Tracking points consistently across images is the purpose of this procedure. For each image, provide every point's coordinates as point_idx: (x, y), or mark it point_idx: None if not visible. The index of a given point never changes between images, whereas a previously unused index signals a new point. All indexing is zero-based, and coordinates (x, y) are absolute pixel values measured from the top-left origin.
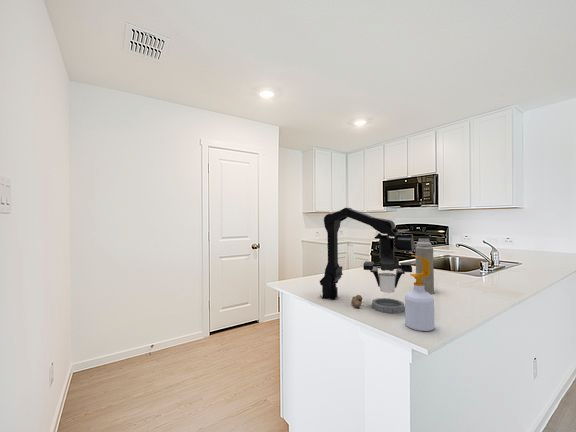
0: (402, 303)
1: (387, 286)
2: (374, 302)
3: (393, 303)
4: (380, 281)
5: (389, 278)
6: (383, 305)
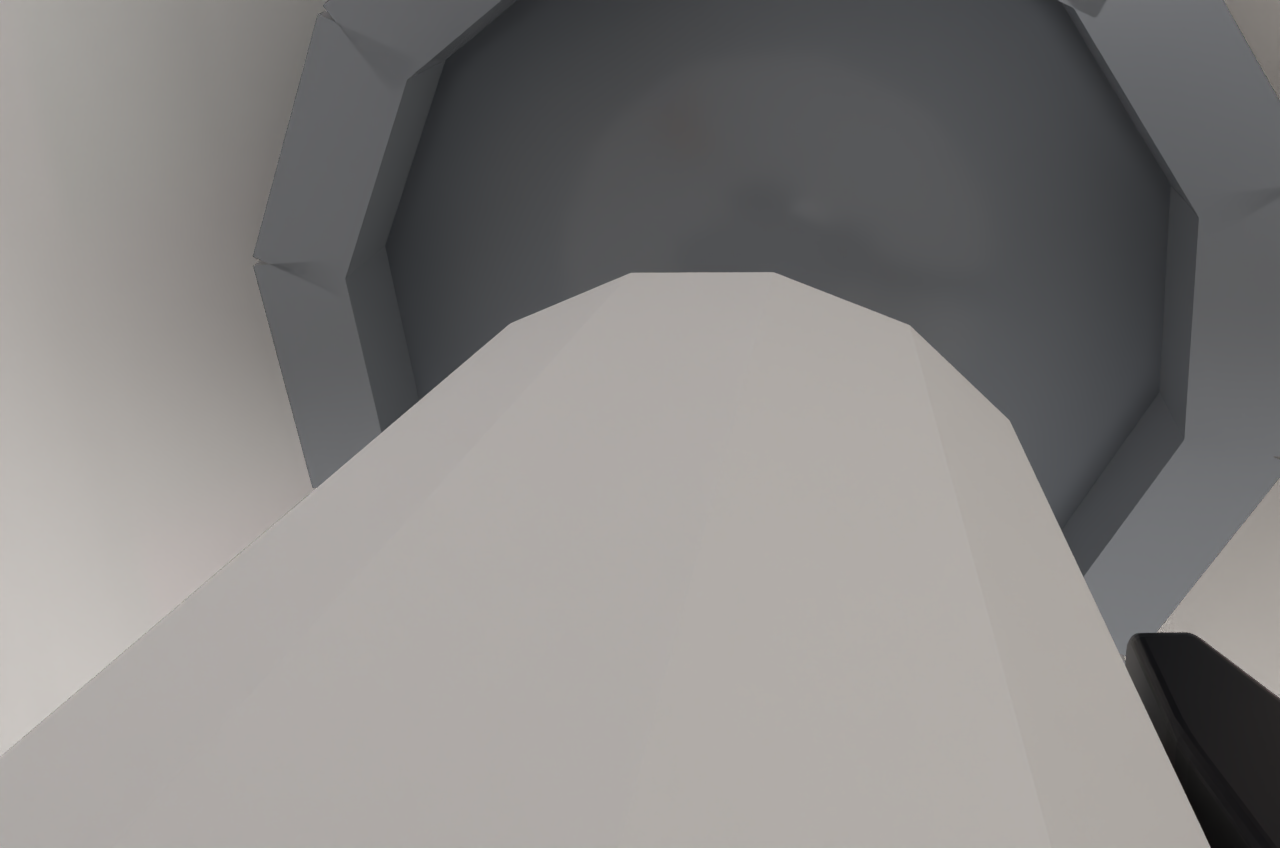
0: (328, 408)
1: (599, 374)
2: (1227, 204)
3: None
4: (1144, 742)
5: (152, 731)
6: (894, 315)
